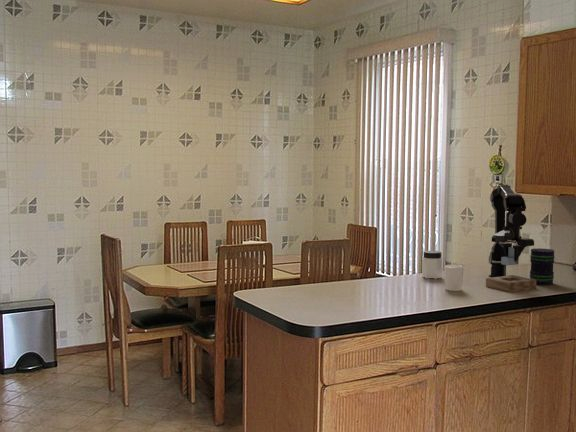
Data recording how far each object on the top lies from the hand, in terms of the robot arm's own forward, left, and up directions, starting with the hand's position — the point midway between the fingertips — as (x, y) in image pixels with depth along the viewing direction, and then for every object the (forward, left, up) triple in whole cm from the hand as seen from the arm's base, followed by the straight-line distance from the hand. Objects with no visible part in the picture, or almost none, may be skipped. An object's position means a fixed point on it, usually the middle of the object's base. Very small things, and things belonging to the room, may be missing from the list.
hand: (511, 260), depth 268 cm
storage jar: (-18, 0, -12) cm, 22 cm away
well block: (+1, 0, -12) cm, 12 cm away
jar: (+15, -34, -12) cm, 38 cm away
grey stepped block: (+1, 0, -2) cm, 2 cm away
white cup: (+26, -8, -12) cm, 29 cm away
